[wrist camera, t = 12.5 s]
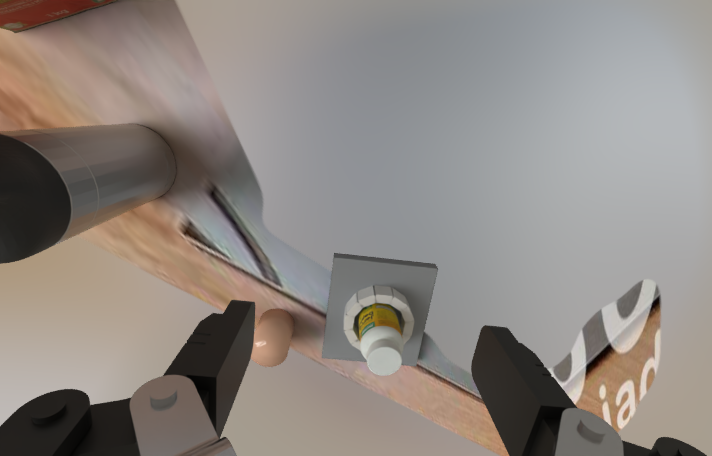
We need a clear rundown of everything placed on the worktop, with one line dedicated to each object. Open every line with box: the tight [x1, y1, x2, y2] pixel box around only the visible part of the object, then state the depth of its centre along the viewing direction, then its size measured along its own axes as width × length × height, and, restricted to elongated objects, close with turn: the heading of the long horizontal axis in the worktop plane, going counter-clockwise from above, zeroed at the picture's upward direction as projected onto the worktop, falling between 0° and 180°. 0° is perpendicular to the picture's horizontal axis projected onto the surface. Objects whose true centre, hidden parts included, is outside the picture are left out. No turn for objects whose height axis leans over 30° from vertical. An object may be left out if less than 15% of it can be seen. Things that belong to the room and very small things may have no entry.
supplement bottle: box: [358, 303, 404, 376], centre depth 44 cm, size 5×5×10 cm
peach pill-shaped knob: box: [251, 309, 294, 367], centre depth 47 cm, size 5×5×6 cm
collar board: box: [322, 253, 438, 366], centre depth 48 cm, size 14×16×4 cm
